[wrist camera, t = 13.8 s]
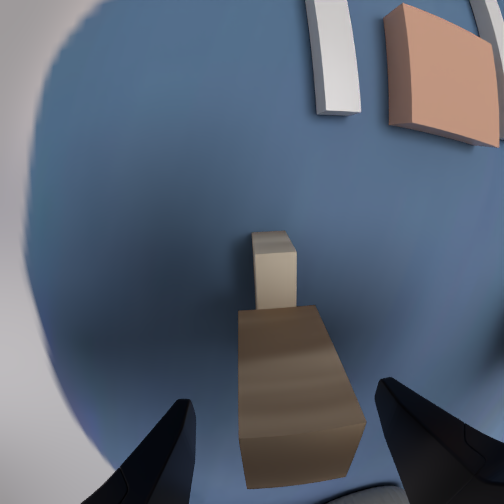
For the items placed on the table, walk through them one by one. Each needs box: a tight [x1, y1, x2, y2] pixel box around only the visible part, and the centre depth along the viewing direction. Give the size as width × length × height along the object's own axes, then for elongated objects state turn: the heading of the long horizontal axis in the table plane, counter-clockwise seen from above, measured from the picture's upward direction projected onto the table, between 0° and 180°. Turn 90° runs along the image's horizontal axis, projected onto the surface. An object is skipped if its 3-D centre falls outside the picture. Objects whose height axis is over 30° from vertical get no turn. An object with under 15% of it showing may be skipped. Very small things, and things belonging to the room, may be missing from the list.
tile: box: [383, 3, 499, 148], centre depth 10 cm, size 6×6×2 cm
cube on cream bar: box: [238, 231, 366, 489], centre depth 11 cm, size 8×3×9 cm, turn 3°
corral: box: [305, 0, 504, 140], centre depth 9 cm, size 13×12×2 cm
